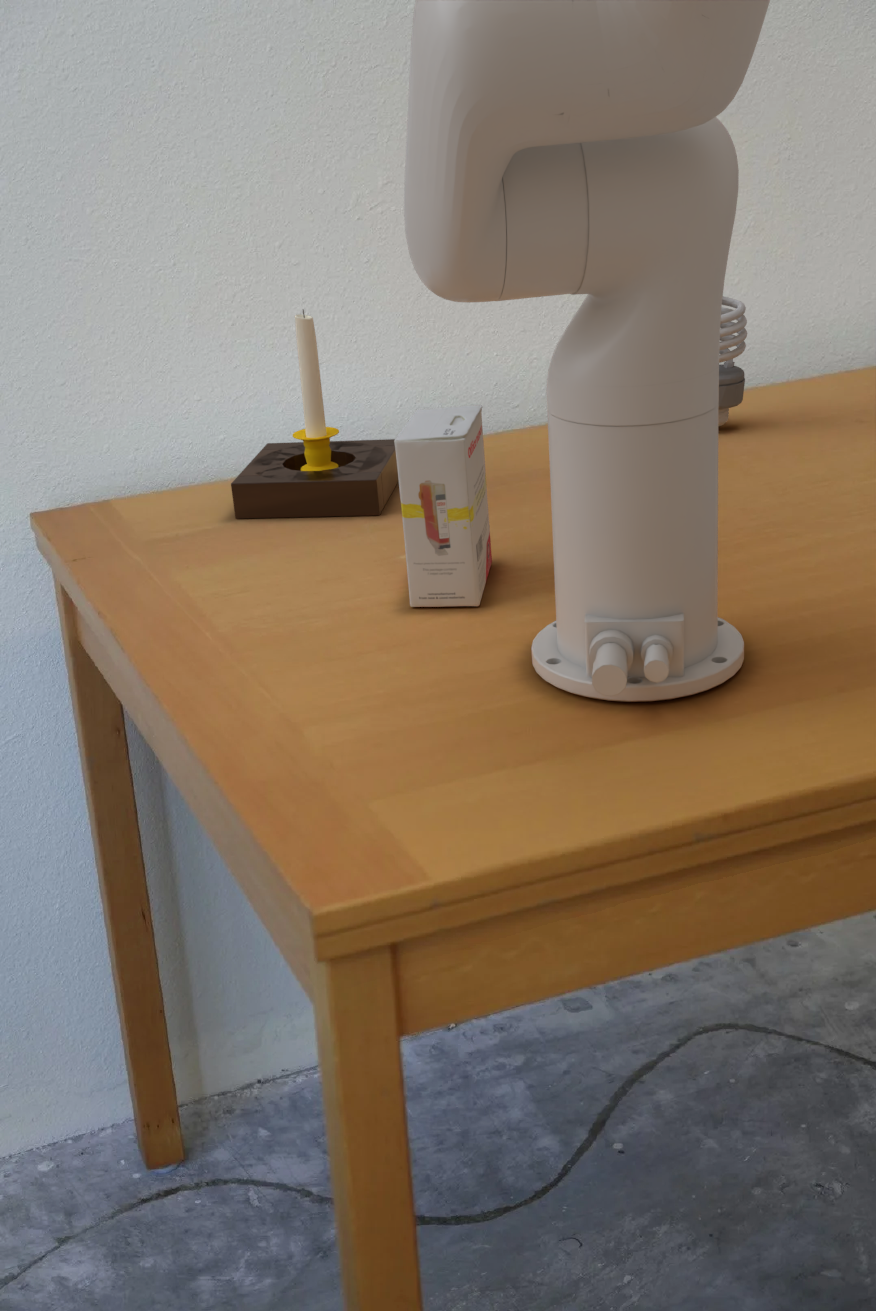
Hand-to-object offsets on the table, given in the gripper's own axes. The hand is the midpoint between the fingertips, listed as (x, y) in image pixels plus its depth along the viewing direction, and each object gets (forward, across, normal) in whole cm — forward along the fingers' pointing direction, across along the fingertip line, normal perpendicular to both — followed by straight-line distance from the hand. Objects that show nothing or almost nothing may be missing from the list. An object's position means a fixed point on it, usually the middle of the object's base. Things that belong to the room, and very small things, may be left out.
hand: (516, 58), depth 100 cm
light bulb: (+34, +14, +26) cm, 45 cm away
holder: (+33, -19, +9) cm, 39 cm away
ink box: (+34, -5, -13) cm, 36 cm away
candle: (+34, -19, +9) cm, 40 cm away
